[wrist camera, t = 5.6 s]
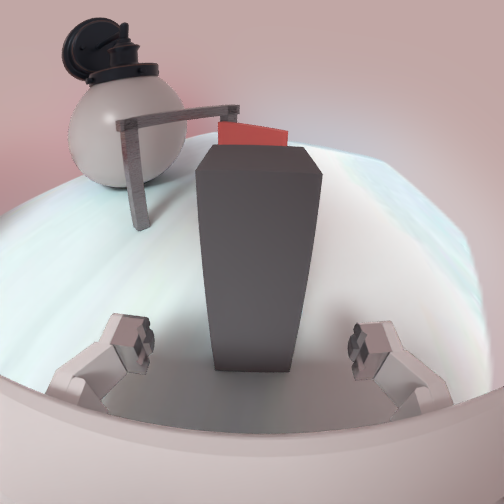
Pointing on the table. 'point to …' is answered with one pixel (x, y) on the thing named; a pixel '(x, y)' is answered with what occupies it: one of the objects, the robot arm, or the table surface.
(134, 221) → the frame
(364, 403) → the table surface
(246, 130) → the red square panel
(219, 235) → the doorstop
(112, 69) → the light fixture
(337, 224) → the table surface
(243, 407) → the table surface
